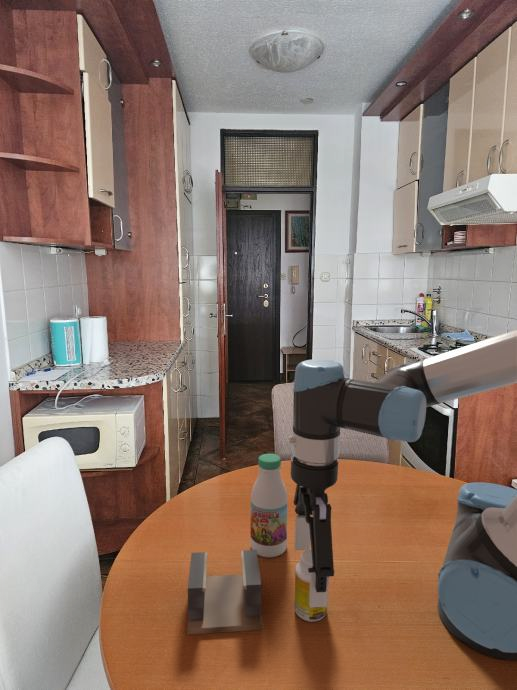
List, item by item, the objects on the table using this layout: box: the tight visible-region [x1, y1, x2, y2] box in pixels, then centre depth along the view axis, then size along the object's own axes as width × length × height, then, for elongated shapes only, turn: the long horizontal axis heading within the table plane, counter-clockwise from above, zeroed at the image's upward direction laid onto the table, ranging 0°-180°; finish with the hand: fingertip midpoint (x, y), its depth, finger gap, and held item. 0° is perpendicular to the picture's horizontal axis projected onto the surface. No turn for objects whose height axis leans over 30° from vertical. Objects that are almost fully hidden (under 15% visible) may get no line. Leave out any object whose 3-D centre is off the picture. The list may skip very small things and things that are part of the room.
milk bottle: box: [249, 453, 289, 558], centre depth 90 cm, size 8×8×20 cm
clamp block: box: [186, 549, 263, 635], centre depth 75 cm, size 12×12×7 cm
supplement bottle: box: [294, 549, 328, 623], centre depth 73 cm, size 6×6×10 cm
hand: (309, 574), depth 73 cm, fingers open, 13 cm apart
